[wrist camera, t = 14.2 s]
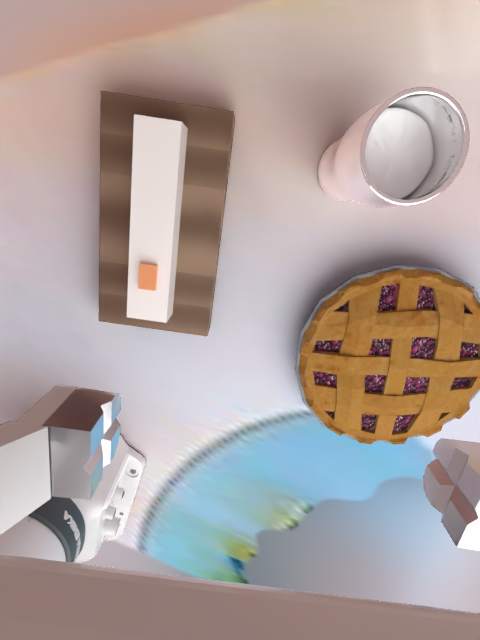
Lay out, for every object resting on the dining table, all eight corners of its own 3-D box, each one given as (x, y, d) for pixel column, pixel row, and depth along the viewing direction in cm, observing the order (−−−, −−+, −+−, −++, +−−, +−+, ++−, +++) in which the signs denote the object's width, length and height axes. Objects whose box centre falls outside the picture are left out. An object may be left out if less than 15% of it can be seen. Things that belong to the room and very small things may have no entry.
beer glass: (383, 200, 36) (470, 198, 22) (316, 211, 37) (359, 217, 22) (381, 125, 34) (477, 71, 20) (310, 138, 34) (353, 94, 20)
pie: (295, 432, 46) (300, 458, 41) (287, 269, 39) (292, 278, 34) (464, 421, 45) (490, 446, 40) (487, 251, 38) (521, 258, 33)
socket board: (209, 326, 41) (207, 336, 38) (109, 312, 41) (98, 321, 38) (235, 118, 34) (234, 111, 31) (113, 99, 34) (100, 90, 31)
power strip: (177, 307, 40) (165, 324, 34) (142, 302, 40) (124, 319, 34) (191, 133, 34) (180, 119, 28) (151, 127, 34) (131, 112, 28)
